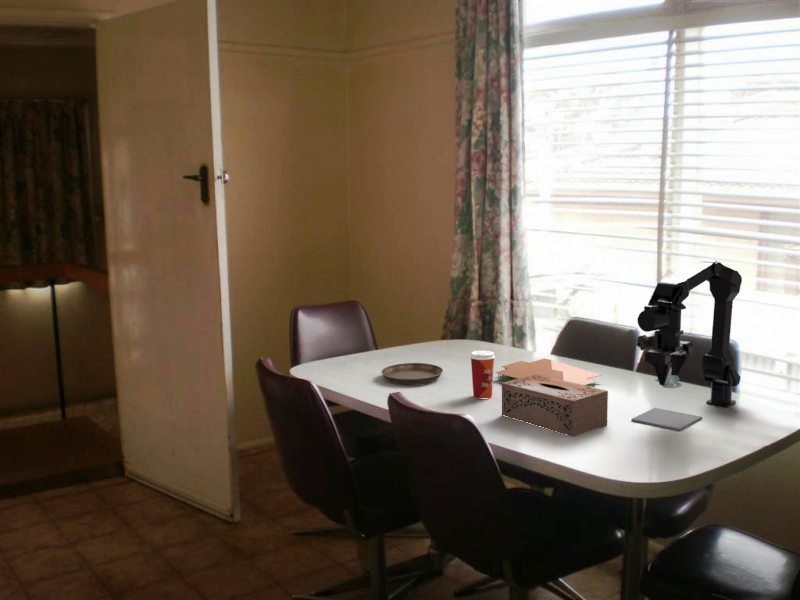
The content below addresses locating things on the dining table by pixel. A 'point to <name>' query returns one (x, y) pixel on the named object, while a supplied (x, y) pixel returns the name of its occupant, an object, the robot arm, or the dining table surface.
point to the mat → (666, 419)
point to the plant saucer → (412, 373)
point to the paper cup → (482, 373)
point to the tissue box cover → (555, 404)
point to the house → (548, 371)
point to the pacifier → (671, 381)
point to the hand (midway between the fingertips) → (668, 382)
